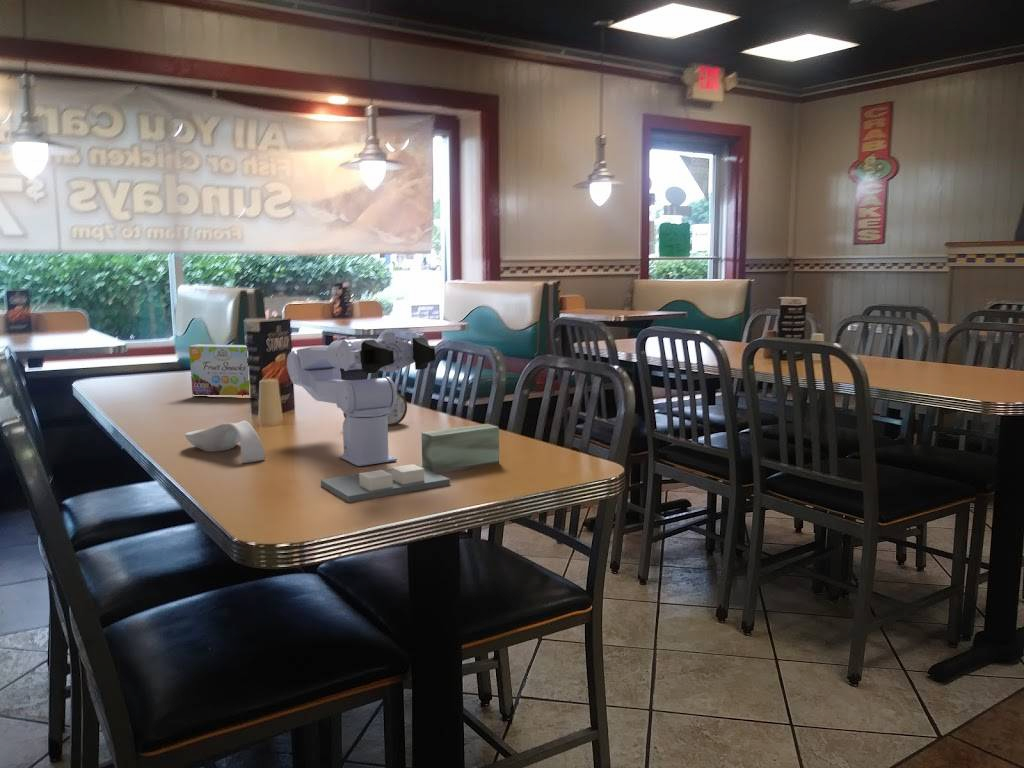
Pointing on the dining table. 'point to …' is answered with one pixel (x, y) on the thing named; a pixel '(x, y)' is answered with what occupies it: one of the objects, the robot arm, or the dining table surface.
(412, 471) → the chalk tile
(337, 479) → the slate board
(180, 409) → the dining table surface
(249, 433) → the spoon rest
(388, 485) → the chalk tile
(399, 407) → the tin
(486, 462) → the block
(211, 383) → the snack box
